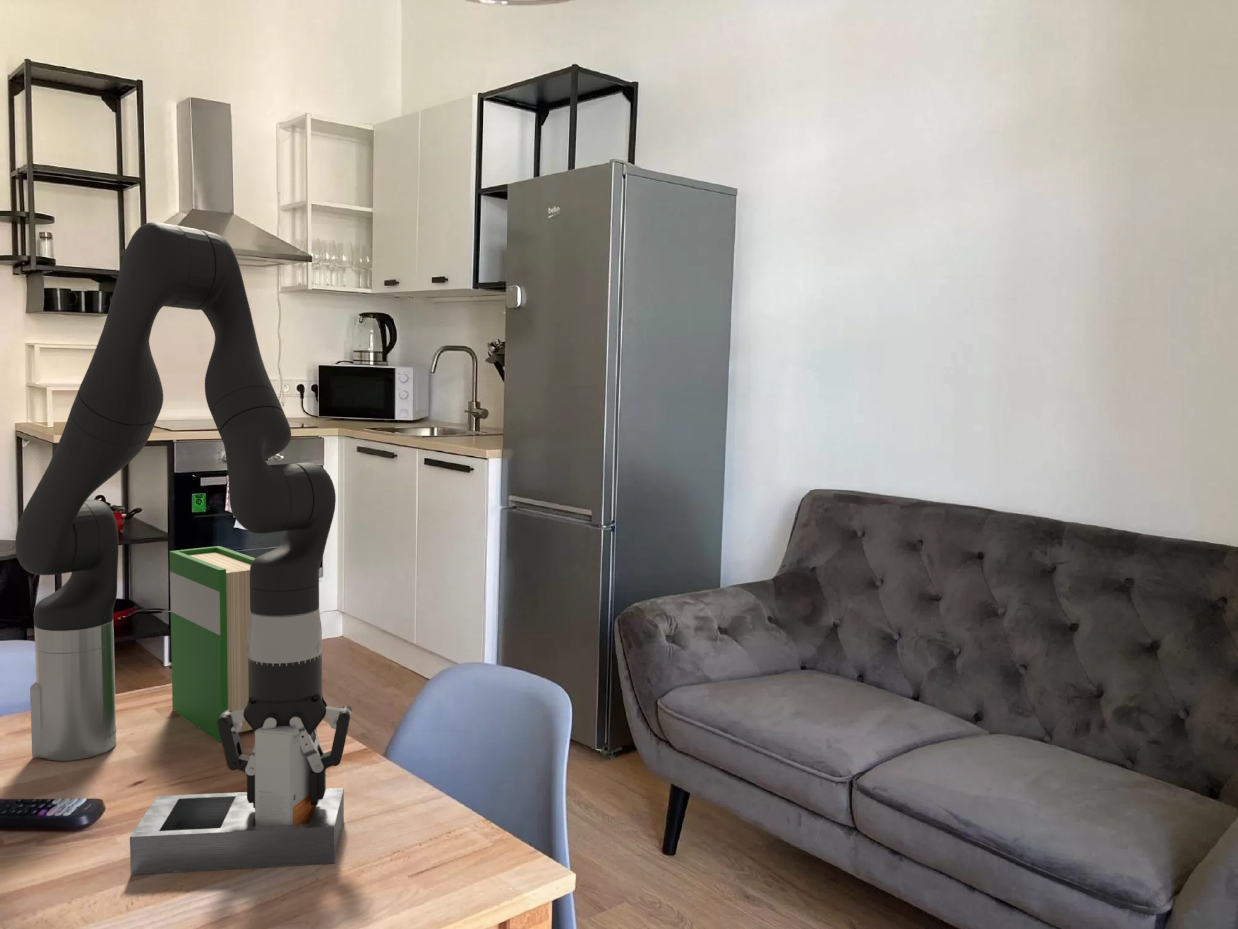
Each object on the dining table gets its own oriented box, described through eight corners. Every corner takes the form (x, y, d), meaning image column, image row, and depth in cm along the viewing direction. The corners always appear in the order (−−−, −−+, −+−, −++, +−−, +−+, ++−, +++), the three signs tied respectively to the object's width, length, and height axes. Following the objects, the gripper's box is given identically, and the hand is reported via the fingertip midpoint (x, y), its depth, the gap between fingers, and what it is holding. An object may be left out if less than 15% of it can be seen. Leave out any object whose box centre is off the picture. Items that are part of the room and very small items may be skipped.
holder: (130, 875, 104) (129, 837, 104) (157, 830, 114) (157, 796, 114) (334, 863, 107) (334, 826, 107) (343, 821, 117) (343, 788, 117)
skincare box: (291, 844, 108) (290, 733, 107) (254, 840, 109) (252, 730, 108) (318, 820, 114) (318, 715, 113) (283, 816, 115) (282, 711, 114)
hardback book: (273, 730, 146) (271, 563, 143) (221, 743, 141) (219, 570, 138) (221, 700, 158) (219, 546, 156) (172, 710, 153) (169, 551, 151)
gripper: (357, 639, 114) (358, 787, 116) (222, 642, 112) (224, 793, 114) (351, 658, 107) (351, 815, 109) (206, 662, 105) (208, 822, 106)
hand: (286, 803), depth 111 cm, fingers closed on skincare box, 5 cm apart
